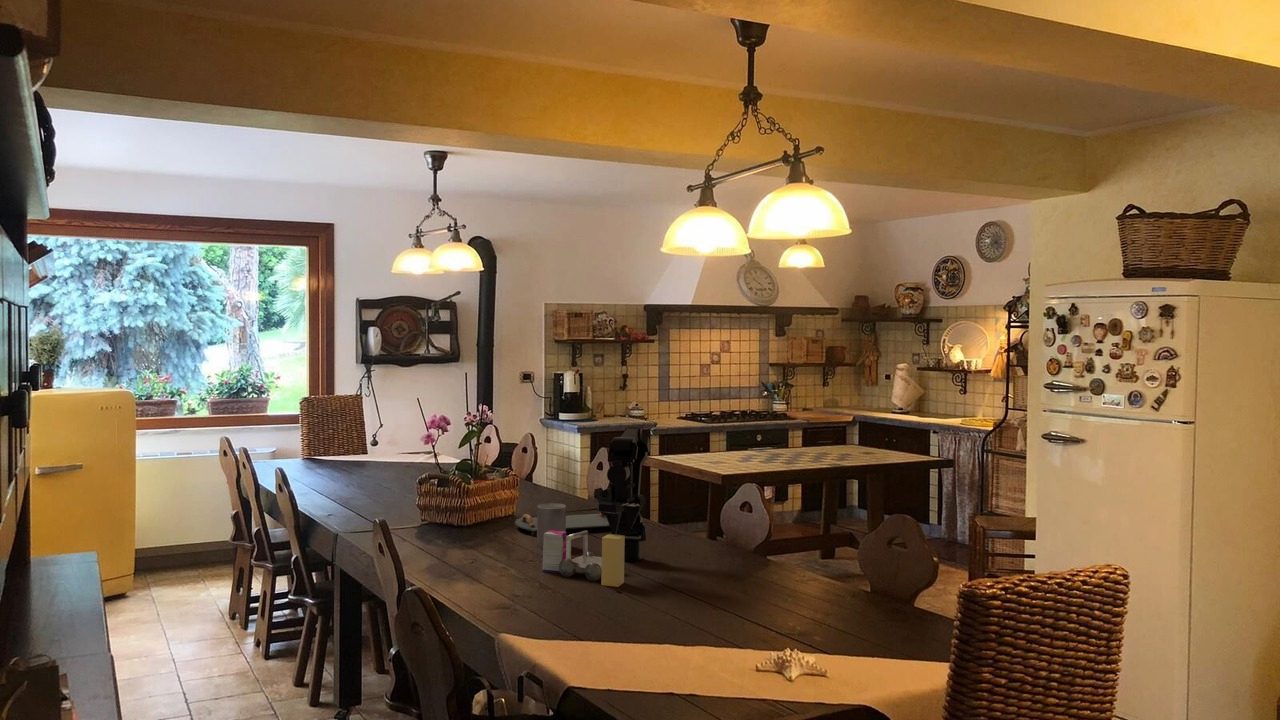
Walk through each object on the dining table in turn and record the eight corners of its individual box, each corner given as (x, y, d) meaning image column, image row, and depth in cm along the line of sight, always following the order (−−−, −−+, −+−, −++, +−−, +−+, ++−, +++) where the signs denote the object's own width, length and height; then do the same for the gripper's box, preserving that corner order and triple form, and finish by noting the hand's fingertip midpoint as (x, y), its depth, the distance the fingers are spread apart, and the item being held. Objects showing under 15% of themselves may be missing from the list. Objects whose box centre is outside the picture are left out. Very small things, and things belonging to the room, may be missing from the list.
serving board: (525, 538, 334) (525, 521, 334) (508, 526, 356) (508, 509, 356) (628, 531, 349) (628, 514, 349) (605, 520, 371) (606, 504, 370)
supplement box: (561, 573, 284) (561, 534, 284) (541, 571, 285) (542, 533, 285) (566, 568, 290) (567, 530, 289) (547, 567, 291) (548, 529, 290)
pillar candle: (540, 542, 326) (540, 498, 326) (568, 543, 325) (568, 499, 325) (534, 549, 316) (534, 504, 316) (563, 550, 315) (563, 504, 315)
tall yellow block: (607, 580, 275) (608, 534, 275) (623, 582, 274) (624, 535, 274) (601, 585, 271) (602, 537, 270) (617, 586, 269) (618, 539, 269)
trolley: (583, 566, 292) (583, 528, 292) (622, 573, 285) (623, 533, 285) (558, 575, 280) (559, 536, 280) (599, 582, 274) (599, 541, 273)
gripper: (615, 474, 298) (614, 524, 298) (583, 481, 282) (582, 534, 282) (646, 477, 292) (645, 528, 293) (615, 484, 276) (614, 538, 276)
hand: (621, 532), depth 286 cm, fingers open, 9 cm apart
